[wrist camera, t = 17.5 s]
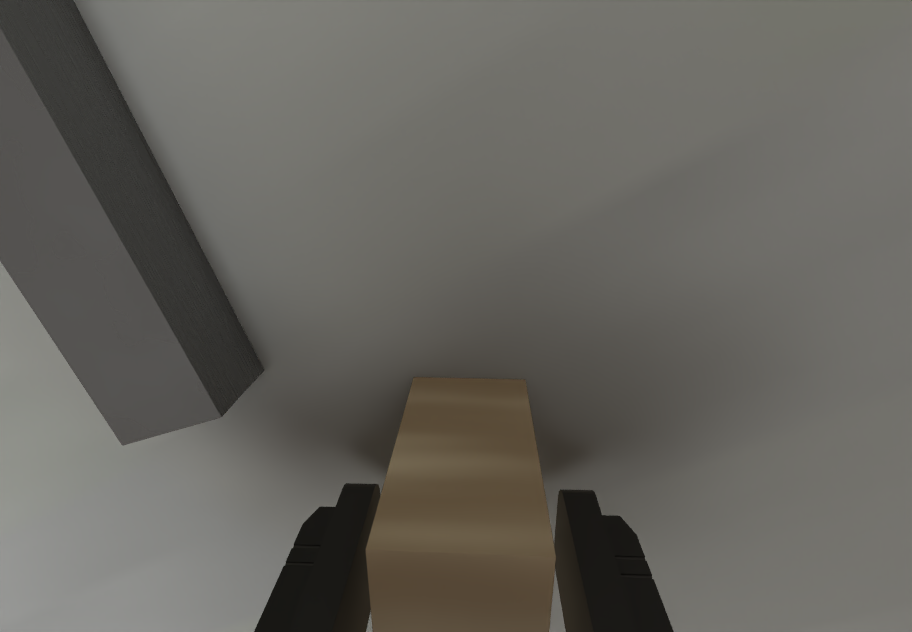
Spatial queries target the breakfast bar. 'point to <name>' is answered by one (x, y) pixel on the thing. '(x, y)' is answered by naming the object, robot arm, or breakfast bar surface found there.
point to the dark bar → (106, 236)
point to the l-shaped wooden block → (463, 515)
